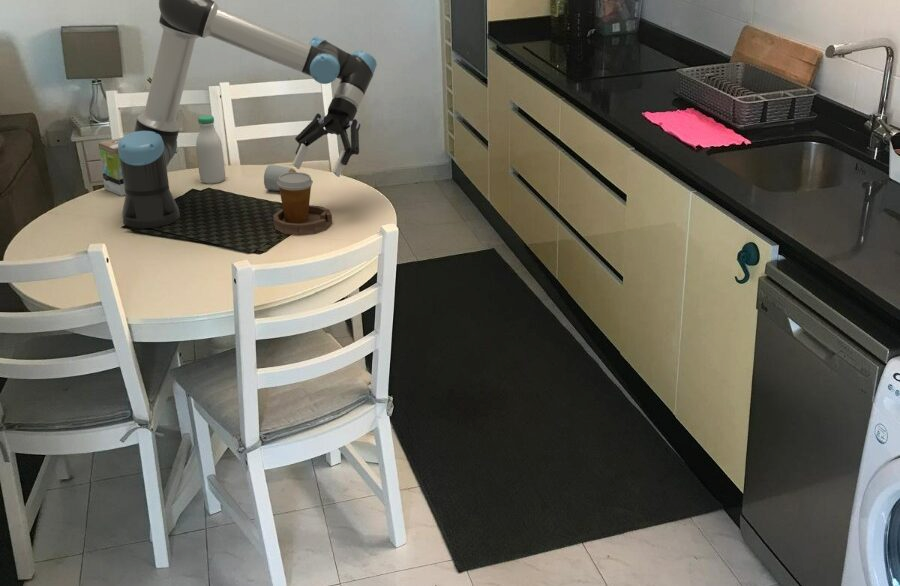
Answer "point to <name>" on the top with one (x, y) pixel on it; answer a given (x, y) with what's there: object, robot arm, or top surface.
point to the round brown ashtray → (316, 222)
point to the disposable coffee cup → (295, 196)
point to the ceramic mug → (274, 176)
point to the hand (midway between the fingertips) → (315, 170)
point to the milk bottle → (209, 152)
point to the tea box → (111, 166)
